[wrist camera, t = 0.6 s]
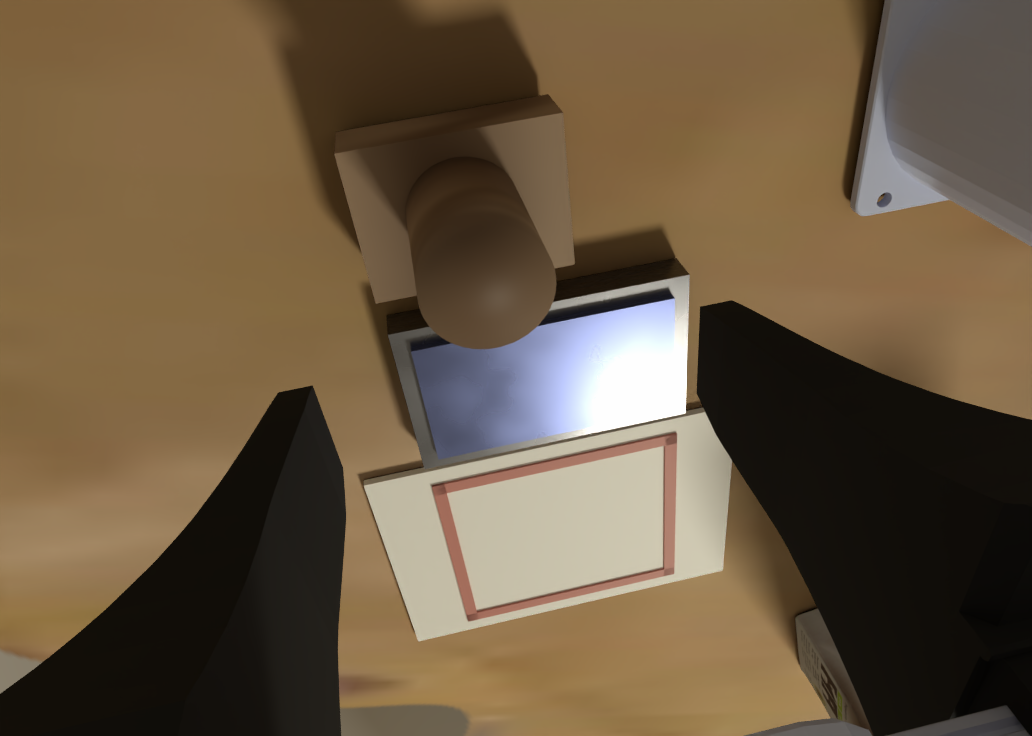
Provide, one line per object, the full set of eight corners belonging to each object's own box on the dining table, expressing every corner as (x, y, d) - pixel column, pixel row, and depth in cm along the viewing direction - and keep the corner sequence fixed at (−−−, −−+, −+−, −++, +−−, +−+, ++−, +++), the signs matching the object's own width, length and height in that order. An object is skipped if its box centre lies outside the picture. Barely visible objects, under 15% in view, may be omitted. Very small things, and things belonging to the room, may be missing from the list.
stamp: (544, 89, 20) (611, 171, 15) (557, 232, 23) (618, 345, 18) (336, 126, 20) (329, 224, 15) (373, 267, 23) (379, 393, 17)
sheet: (733, 400, 29) (737, 406, 28) (720, 565, 35) (723, 572, 35) (363, 480, 28) (363, 487, 27) (417, 635, 34) (418, 643, 34)
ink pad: (676, 258, 24) (692, 279, 23) (674, 394, 28) (688, 418, 27) (386, 315, 24) (388, 340, 22) (422, 447, 27) (425, 474, 26)
